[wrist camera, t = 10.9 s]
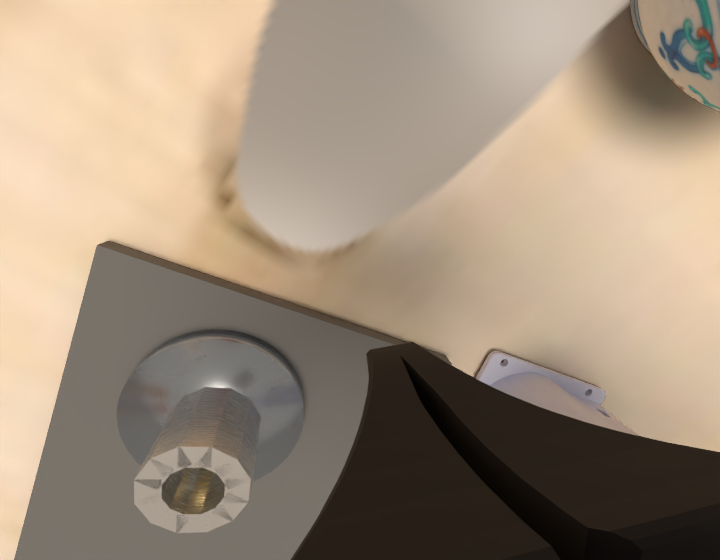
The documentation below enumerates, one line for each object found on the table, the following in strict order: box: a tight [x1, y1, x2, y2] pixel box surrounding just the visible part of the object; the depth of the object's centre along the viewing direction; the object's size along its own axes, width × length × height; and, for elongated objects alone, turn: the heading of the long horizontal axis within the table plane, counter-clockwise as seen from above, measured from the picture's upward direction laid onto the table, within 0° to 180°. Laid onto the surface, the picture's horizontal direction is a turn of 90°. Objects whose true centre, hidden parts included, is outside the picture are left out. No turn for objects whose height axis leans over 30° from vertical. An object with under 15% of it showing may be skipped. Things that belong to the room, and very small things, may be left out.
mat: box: [14, 241, 451, 560], centre depth 22 cm, size 19×25×1 cm
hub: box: [117, 329, 304, 482], centre depth 18 cm, size 9×9×3 cm
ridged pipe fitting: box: [134, 387, 261, 533], centre depth 16 cm, size 4×4×4 cm
